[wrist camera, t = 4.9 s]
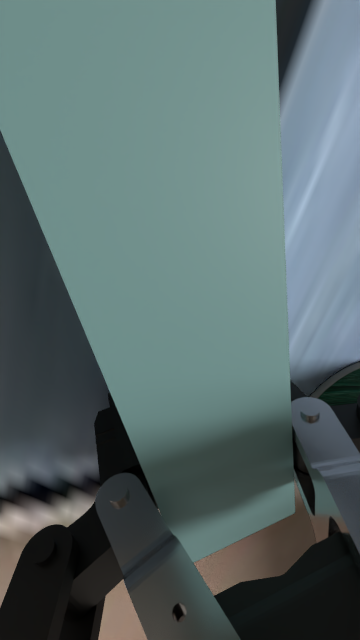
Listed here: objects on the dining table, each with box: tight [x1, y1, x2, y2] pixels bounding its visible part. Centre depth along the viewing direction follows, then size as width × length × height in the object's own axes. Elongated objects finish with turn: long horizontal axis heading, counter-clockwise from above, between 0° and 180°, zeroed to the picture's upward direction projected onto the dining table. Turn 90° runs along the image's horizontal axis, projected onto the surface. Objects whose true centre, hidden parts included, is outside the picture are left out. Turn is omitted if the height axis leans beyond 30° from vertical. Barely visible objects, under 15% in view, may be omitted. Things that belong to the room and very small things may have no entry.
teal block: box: [0, 0, 295, 563], centre depth 9 cm, size 15×4×5 cm, turn 13°
